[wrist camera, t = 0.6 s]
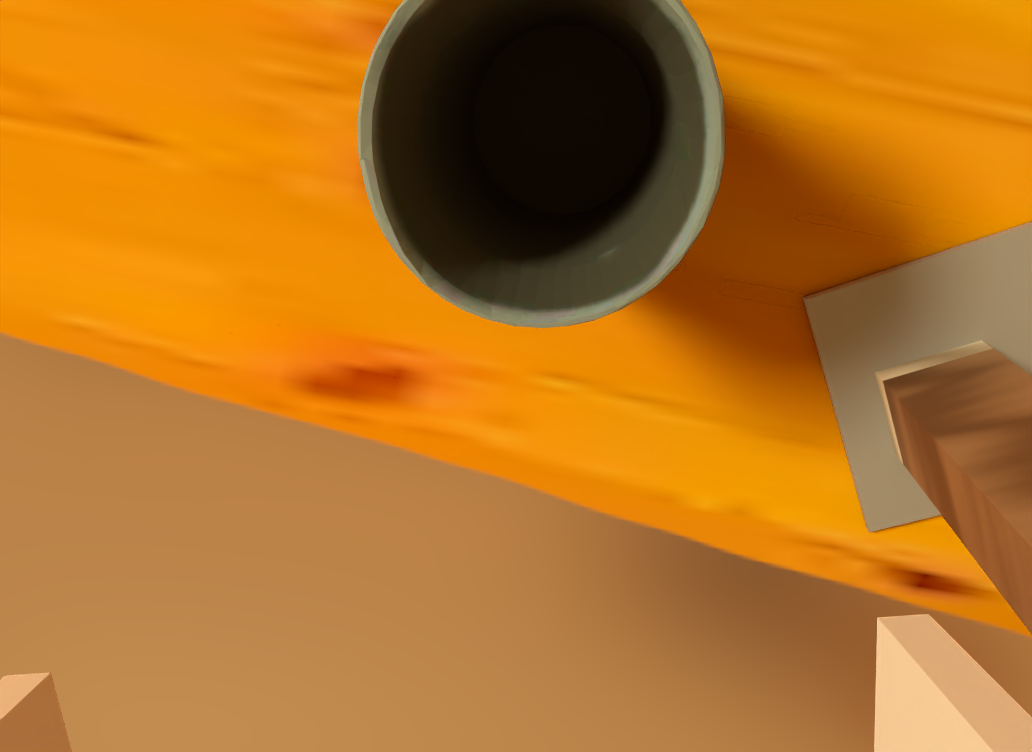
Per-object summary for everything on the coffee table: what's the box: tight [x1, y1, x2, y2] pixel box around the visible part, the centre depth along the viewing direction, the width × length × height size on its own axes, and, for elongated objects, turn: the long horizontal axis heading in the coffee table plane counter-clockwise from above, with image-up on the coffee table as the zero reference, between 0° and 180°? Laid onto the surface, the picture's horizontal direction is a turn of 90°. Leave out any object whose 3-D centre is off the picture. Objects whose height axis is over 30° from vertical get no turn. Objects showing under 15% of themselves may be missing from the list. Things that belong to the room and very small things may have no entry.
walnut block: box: [875, 340, 1032, 634], centre depth 26 cm, size 4×4×13 cm
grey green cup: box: [357, 0, 725, 328], centre depth 24 cm, size 10×10×12 cm
